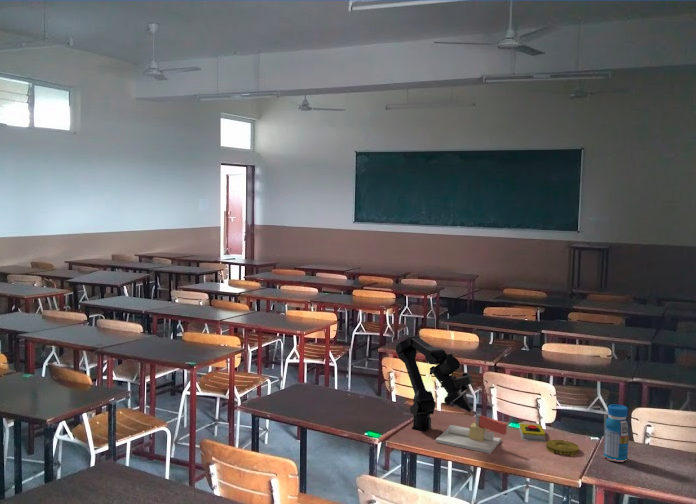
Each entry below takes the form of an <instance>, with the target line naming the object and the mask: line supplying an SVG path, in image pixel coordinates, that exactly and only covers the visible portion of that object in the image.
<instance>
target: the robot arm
mask: <svg viewBox="0 0 696 504" xmlns="http://www.w3.org/2000/svg"><path fill="white" fill-rule="evenodd" d="M417 351H418V352H419V353H421V354H422V355H423V356H424V360H425V361H426V362H427V363H428V365H435V366H431V367H430V368H429V375H430V376H432V375H433V376H434V377H435V378H436V380H437V381H438V382H439V383H440V388H442V389H444V390H445V391H446V393H447V394H446V396H445V397H444V403H445V404H446V406H448V405H450V404H454V405H455V406H458V407H460V408H461V409H463V410H465V411H467V412H468V413H470V412H472V407H471V405H470V403H469V401H468V397H467V393H468V389H469V388H470V385H471V384H472V383H473V380H472V378H473V376H471V373H468V372H463V373H462V375H461V376H459V377H457V376H456V375H452V374H453V373H454V372H456V371H457V370H459V369H460V366H461V363H460V360H459V359H458V358H456V357H455V356H454V355H453V354H452V353H446V350H444V349H443V348H440V347H434V346H432V345H430V344H429V343H428V342H426V341H425V340H423V339H422V338H421V337H420V336H418V335H412V336H411V335H410V336H408V337H407V338H406V339H404V340H402V341H400V342H399V343H398V344H397V345H396V346H395V353H396V354H397V357H398V359H399V360H400V361H402V362H403V363H404V365H405V369H406V371H407V375H408V377H409V381H410V384H411V387H412V389H413V392H414V396H413V400H412V401H413V404H412V405H411V406H410V408H409V410H410V414H412V415H413V424H412V426H411V429H412V430H418V431H422V432H427V431H428V430H430V429H431V427H432V417H431V415H434V412H435V409H436V402H435V397H434V396H433V393H432V391H428V390H427V389H426V386H425V384H424V380H423V377H422V374H421V372H420V369H419V366H418V363H417V360H416V357H417Z"/></svg>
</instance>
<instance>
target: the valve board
mask: <svg viewBox="0 0 696 504" xmlns="http://www.w3.org/2000/svg"><path fill="white" fill-rule="evenodd" d="M501 441H502V438H501V437H495V433H494V432H493V431H488V429H486V428H483V427H480V426H477V425H476V422H473V423H471V424H470V425H469V427H465V426H460V425H454V424H449V425H448V428H447V429H446V430H444V431H443V432H442V433H441V434H440V435H439V436H438V437H436V438H435V443H438V444H443V445H447V446H450V447H451V446H453V447H458V448H462V449H467V450H471V451H476V452H481V453H485V454H492V452H493V451H494V450H495V449H496V448H497V446H498V445H499V444H500V443H501Z"/></svg>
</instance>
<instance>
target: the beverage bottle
mask: <svg viewBox="0 0 696 504" xmlns="http://www.w3.org/2000/svg"><path fill="white" fill-rule="evenodd" d="M628 411H629V409H628V406H625V405H622V404H619V403H618V404H614V403H612V404H609V405H608V407H607V414H608V417H607V418H606V420H605V421H604V422H605V426H604V427H605V428H604V448H603V457H604V456H606V457H608V458H611V459H616V460H625V459H627V460H628V452H629V436H630V431H629V428H630V425H629V421H628V420H627V417H628V413H629V412H628Z"/></svg>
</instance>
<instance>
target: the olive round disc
mask: <svg viewBox="0 0 696 504" xmlns="http://www.w3.org/2000/svg"><path fill="white" fill-rule="evenodd" d="M545 444H546V445H545V448H546V449H547V452H549V453H552V454H558V455H563V456H564V455H566V456H569V457H574V456H577V455H578V454H579V453H580V447H579V445H578V444H576V443H575V442H572V441H568V440H563V439H550V440H547V441H546V442H545Z"/></svg>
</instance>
